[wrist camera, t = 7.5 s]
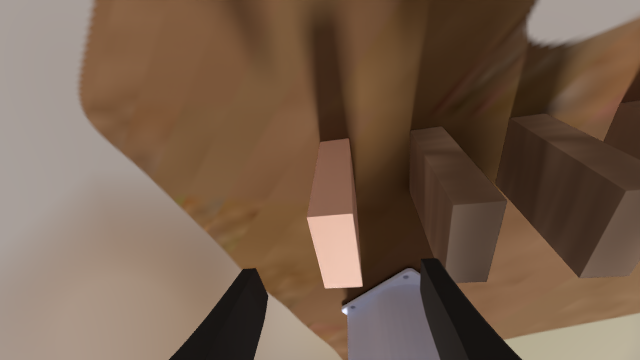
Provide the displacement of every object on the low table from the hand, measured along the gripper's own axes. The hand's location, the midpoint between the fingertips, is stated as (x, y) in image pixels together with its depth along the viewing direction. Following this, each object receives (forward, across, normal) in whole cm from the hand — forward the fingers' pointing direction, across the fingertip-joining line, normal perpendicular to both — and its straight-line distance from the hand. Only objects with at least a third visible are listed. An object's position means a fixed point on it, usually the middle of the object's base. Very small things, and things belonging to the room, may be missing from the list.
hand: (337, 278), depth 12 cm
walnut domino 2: (+9, -12, 0) cm, 15 cm away
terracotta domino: (+9, 0, 0) cm, 9 cm away
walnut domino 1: (+9, -6, 0) cm, 11 cm away
